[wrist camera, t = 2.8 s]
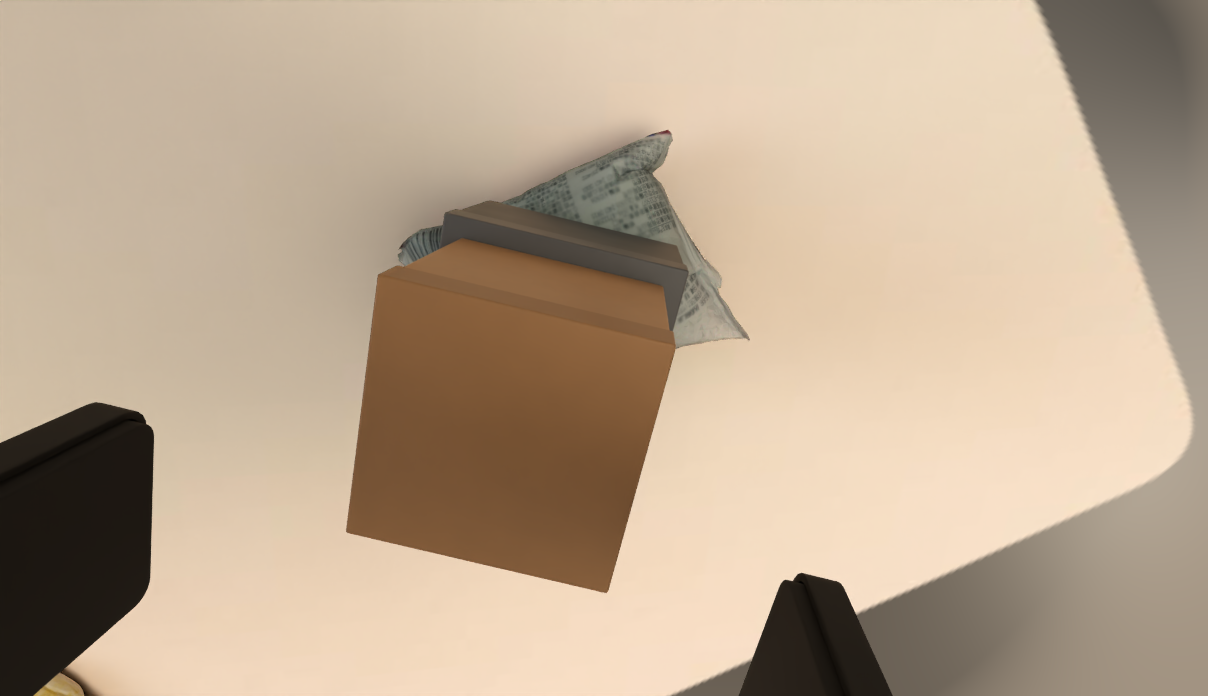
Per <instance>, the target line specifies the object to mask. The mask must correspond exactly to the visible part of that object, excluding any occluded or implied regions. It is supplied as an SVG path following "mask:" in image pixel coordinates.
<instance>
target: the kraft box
mask: <svg viewBox="0 0 1208 696" xmlns="http://www.w3.org/2000/svg"><path fill="white" fill-rule="evenodd" d="M675 349H676V344H675V338H674V332H673V331H670V329H669V323H668V316H667V309H666V302H665V296H664V289H663V287H662V286H660V285H656V284H652V283H648V282H643V281H639V280H635V279H631V278H627V277H623V276H618V275H614V274H610V273H606V272H602V271H597V270H593V269H589V268H585V267H581V266H577V265H572V264H568V263H564V262H560V261H556V260H552V259H547V258H543V257H539V256H535V255H531V254H526V253H522V252H518V251H514V250H510V249H506V248H501V247H497V246H493V245H489V244H485V243H481V242H476V241H472V240H468V239H464V238H461V239H459V240H457V241H455V242H453V243H451V244H449V245H447V246H445V247H443V248H441V249H439V250H437V251H435V252H433V253H431V254H429V255H427V256H425V257H423V258H421V259H418V260H416V261H414V262H412V263H410V264H408V265H406V266H404V267H402V266H395V267H393V268H391V269H389V270H387V271H385V272H383V273H381V274H379V275H378V278H377V286H376V294H375V302H374V310H373V319H372V327H371V335H370V343H369V351H368V359H367V367H366V375H365V383H364V391H363V399H362V407H361V415H360V424H359V432H358V440H357V448H356V456H355V464H354V472H353V480H352V488H351V496H350V504H349V512H348V520H347V528H346V532H347V533H350V534H355V535H359V536H363V537H368V538H372V539H376V540H381V541H385V542H389V543H393V544H398V545H402V546H406V547H411V548H415V549H419V550H423V551H428V552H432V553H436V554H441V555H445V556H449V557H454V558H458V559H462V560H466V561H471V562H475V563H479V564H484V565H488V566H492V567H496V568H501V569H505V570H509V571H514V572H518V573H522V574H527V575H531V576H535V577H539V578H544V579H548V580H552V581H557V582H561V583H565V584H569V585H574V586H578V587H582V588H587V589H591V590H595V591H600V592H604V593H607V592H608V590H609V586H610V583H611V579H612V575H613V572H614V568H615V565H616V561H617V557H618V554H619V550H620V547H621V543H622V539H623V536H624V532H625V529H626V525H627V521H628V518H629V514H630V511H631V507H632V503H633V500H634V496H635V493H636V489H637V486H638V482H639V478H640V475H641V471H642V468H643V464H644V460H645V457H646V453H647V450H648V446H649V442H650V439H651V435H652V432H653V428H654V424H655V421H656V417H657V414H658V410H659V406H660V403H661V399H662V396H663V392H664V389H665V385H666V381H667V378H668V374H669V371H670V367H671V363H672V360H673V356H674V353H675Z"/></svg>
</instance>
